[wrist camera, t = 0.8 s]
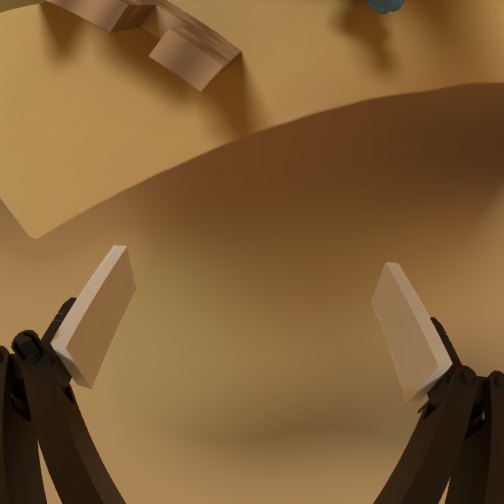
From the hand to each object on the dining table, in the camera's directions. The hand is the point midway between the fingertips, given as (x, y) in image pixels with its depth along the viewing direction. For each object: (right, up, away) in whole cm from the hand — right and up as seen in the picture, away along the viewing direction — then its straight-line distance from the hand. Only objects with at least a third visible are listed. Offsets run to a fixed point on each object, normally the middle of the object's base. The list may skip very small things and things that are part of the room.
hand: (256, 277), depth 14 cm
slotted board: (-11, +30, +9) cm, 33 cm away
